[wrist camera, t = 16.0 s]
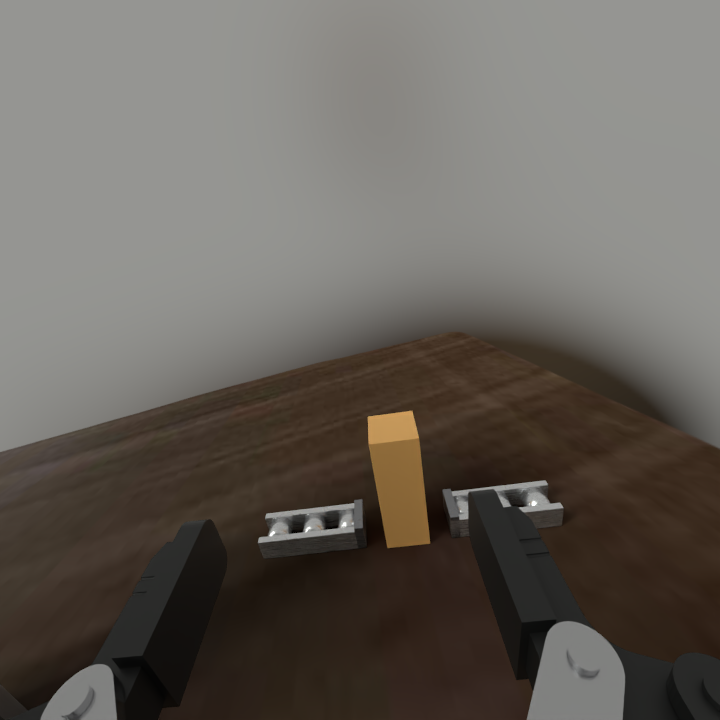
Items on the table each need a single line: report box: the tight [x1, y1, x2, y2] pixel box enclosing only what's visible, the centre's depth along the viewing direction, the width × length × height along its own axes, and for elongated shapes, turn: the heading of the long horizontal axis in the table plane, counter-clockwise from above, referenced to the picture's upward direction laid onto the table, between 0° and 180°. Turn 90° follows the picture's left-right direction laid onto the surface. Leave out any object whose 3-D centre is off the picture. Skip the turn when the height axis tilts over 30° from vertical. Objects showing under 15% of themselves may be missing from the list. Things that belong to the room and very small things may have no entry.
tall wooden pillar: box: [368, 411, 430, 548], centre depth 32 cm, size 4×5×12 cm
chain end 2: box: [442, 480, 564, 538], centre depth 33 cm, size 10×3×3 cm, turn 90°
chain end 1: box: [258, 499, 367, 559], centre depth 35 cm, size 10×3×3 cm, turn 90°
